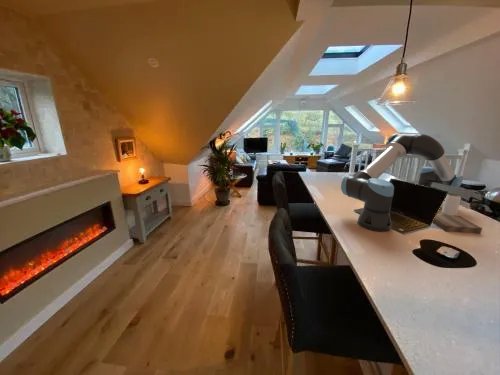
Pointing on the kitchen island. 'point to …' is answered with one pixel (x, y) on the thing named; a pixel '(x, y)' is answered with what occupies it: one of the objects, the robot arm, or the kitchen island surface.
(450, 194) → the can
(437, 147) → the robot arm
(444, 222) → the walnut board
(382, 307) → the kitchen island surface
